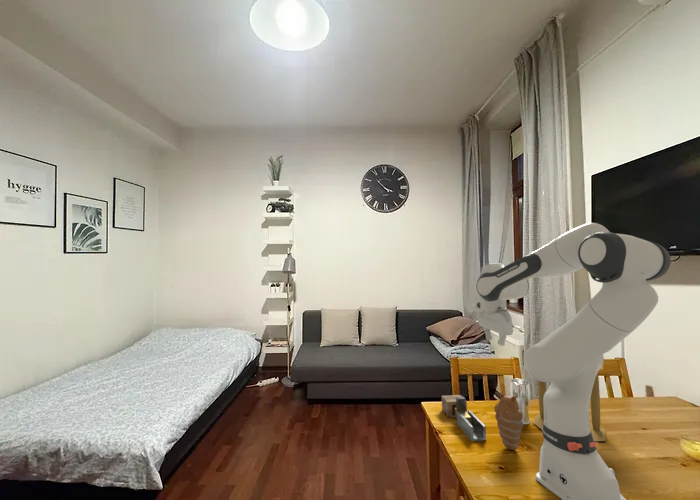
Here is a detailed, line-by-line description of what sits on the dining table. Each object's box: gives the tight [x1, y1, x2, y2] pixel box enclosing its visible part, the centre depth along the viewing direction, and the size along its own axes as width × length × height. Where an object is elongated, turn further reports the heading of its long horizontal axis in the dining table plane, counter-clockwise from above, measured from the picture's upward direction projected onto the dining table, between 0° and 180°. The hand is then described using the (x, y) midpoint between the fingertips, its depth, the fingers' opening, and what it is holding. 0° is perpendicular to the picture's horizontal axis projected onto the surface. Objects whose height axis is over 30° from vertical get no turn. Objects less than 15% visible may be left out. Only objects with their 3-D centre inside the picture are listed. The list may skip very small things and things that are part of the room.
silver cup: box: [509, 378, 531, 425], centre depth 133 cm, size 7×7×15 cm
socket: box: [441, 394, 468, 418], centre depth 140 cm, size 6×8×6 cm
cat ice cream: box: [493, 391, 524, 451], centre depth 113 cm, size 9×8×18 cm
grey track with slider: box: [456, 409, 487, 442], centre depth 124 cm, size 13×5×5 cm, turn 4°
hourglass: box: [532, 363, 607, 442], centre depth 127 cm, size 24×22×25 cm
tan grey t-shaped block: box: [452, 396, 472, 425], centre depth 134 cm, size 14×3×8 cm, turn 4°
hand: (494, 342), depth 130 cm, fingers open, 8 cm apart
